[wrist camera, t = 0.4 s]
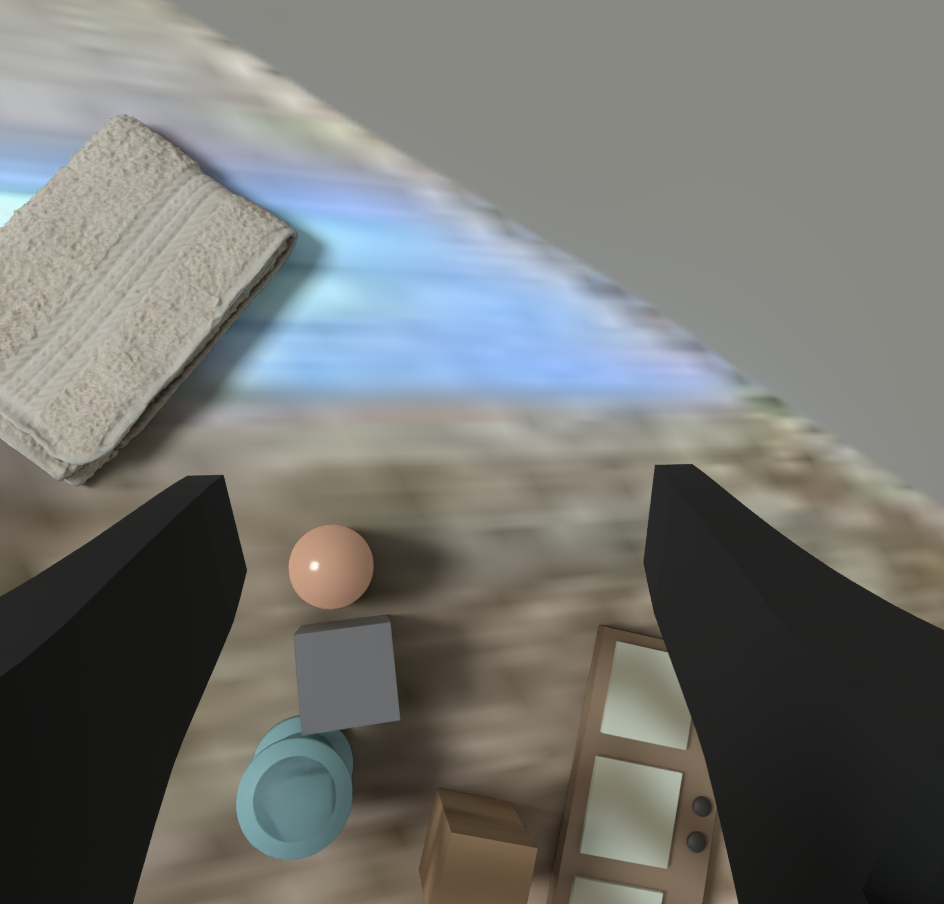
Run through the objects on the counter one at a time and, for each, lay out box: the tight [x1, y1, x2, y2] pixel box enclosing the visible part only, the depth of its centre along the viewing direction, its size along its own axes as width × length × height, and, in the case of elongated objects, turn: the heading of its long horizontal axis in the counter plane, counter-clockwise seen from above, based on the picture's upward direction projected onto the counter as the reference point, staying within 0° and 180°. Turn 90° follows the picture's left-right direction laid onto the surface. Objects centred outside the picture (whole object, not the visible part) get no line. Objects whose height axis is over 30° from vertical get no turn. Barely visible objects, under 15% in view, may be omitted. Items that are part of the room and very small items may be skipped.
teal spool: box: [236, 715, 353, 860], centre depth 34 cm, size 5×5×5 cm
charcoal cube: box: [293, 615, 400, 736], centre depth 35 cm, size 4×4×4 cm
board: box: [547, 625, 717, 904], centre depth 38 cm, size 18×8×1 cm, turn 167°
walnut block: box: [419, 788, 538, 904], centre depth 34 cm, size 4×4×6 cm
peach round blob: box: [289, 525, 374, 609], centre depth 36 cm, size 4×4×4 cm
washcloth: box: [0, 114, 298, 486], centre depth 37 cm, size 12×18×3 cm, turn 146°
